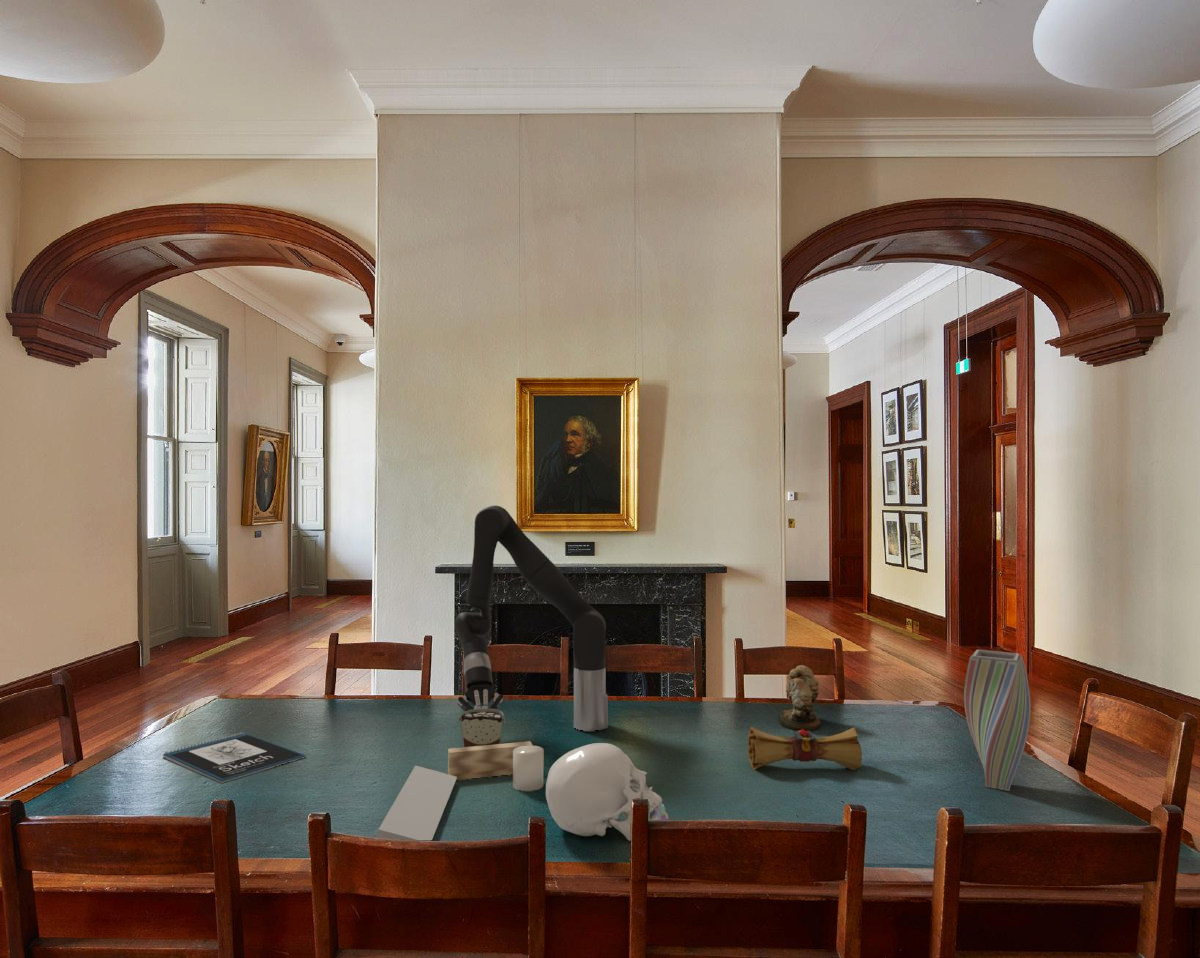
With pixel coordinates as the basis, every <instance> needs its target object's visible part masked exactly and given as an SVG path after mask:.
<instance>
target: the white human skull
mask: <svg viewBox="0 0 1200 958" xmlns="http://www.w3.org/2000/svg"><path fill="white" fill-rule="evenodd" d="M647 774H648V773H647V772H646V771H644V770H640V769H638V768H637V767H635V765H634V762H632V760H631V759H630V758H629V756H628V754H625V752H624V751H623V750H622V749H621V748H619V747H618V746H616V745H614V744H612V743H608V742H607V743H606V742H595V743H590V744H589V743H588V744H586V745H582V746H580V747H579V746H578V747H577V748H574V749H572V750H569V751H568V752H566V753H564V754H563V755H562V756H561V757H559V758H558V759H557V760H556V761H555V762H554V763H553V764H552V765H551V767H550V768H549V771H548V774H547V779H546V783H545V799H546V802H547V806H548V809H549V812H550V814H551V816H552V818H553V820H554V822H555V823H556V824H557V825H558V826H559V828H560V829H562V830H563V831H566V832H568V833H572V834H573V835H576V836H582V837H592V836H595V835H596V836H599V837H603V836H605V835H606V833H607V830H606V829H607V828H610V829H611V828H612V827H613V828H614V829H616V830H617V831H619V833H621V834H622V835H623V836H624V837H625V839H626V840H628V842H630V823H631V806H632V799H635V798H643V799H648V801H649V804H650V820H660V819H668V820H669V817H670V816H669V815H668V812H666V807H665V805H664V804H663V803H662V801H663V798H662V796H660V795H659V794H657V793H656V792H655V791H653V786H651V787H648V785H647V784H646V783H647V782H646V781H647V778H646V775H647ZM631 787H632V788H631ZM621 814H622V815H623V816H624V818H625V820H623V821H622V820H621V821H620V820H619V821H618V820H617V819H619V817H620V815H621Z"/></svg>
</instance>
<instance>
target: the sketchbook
mask: <svg viewBox="0 0 1200 958" xmlns="http://www.w3.org/2000/svg"><path fill="white" fill-rule="evenodd" d="M306 756H307V755H305V754H304V753H301V752H298V751H296V750H292V749H290V748H287V747H284V746H281V745H279V744H276V743H273V742H271V741H268V740H265V739H262V738H260V737H257V736H254V735H251V734H248V733H246V732H242V731H241V732H239V733H235V734H234V733H233V734H230V735H229V736H228V735H226V736H223V737H220V738H217V739H216V738H214V739H210V740H207V741H204V742H200V743H197V744H196V743H194V744H191V745H187V747H186V746H184V747H180V748H177V749H175V748H174V749H173V750H172V749H171V750H170V751H168V750H166V751H165V752H164V753H163V757H162V758H163V759H165V760H167V761H170V762H172V763H175V764H177V765H179V766H181V767H183V768H185V769H188V770H191V771H193V772H195V773H198V774H200V775H202V776H205V777H207V778H210V779H212V780H214V781H216V782H218V783H221V784H224V783H226V782H227V783H228V782H230V781H233V780H236V779H240V778H244V777H246V776H247V777H248V776H250V775H253V774H256V773H259V772H264V771H266V770H270V769H272V768H273V767H274V768H276V767H275V766H277V767H279V765H280V766H282V765H281V764H283V763H287V762H290V761H293V760H297V759H300V758H303V759H305V758H304V757H306ZM306 758H307V757H306ZM300 760H301V759H300ZM297 761H298V760H297ZM293 762H294V761H293ZM290 763H291V762H290ZM287 764H288V763H287Z"/></svg>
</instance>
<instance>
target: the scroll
mask: <svg viewBox="0 0 1200 958" xmlns="http://www.w3.org/2000/svg"><path fill="white" fill-rule="evenodd" d="M792 732H793V735H792V736H790V737H786V736H785V737H784V736H779V735H773V734H770V733H766V732H764V731H761V730H759V729H757V728H755V727H753V726H751V727H750V728H749V733H748V738H747V758H748V760H749V763H750V765H751V768H752V769H753V771H756V770H757V769H759V768H761V767H763V766H764V767H765V765H766V766H767V765H769V764H773V763H777V762H781V761H785V760H793V762H794V761H795V762H797V761H799V762H801V763H802V762H807V763H808V762H816V761H817V760H823V761H829V762H834V763H836V764H837V765H838V764H839V765H841V766H842V767H845V768H847V769H849V770H851V771H855V770H857V769H859V768H861V767H862V761H863V757H862V756H863V755H862V746H861V743H860V742H859V738H858V735H859V734H858V732H857V730H856V728H855V727H852V728H850V729H848V730H845V731H843V732H841V733H836V734H834V735H833V734H832V735H828V736H823V737H815V736H814V735H813V733H812V731H805V730H803V729H802V730H800V731H795V730H792Z"/></svg>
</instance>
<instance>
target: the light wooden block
mask: <svg viewBox="0 0 1200 958" xmlns="http://www.w3.org/2000/svg"><path fill="white" fill-rule="evenodd" d="M520 746H534V745H533V743H532V742H531V741H530V740H529V741H519V742H509V743H508V742H507V743H501V744H495V745H484V746H473V747H463V746H462V747H452V748H451V747H450V748H448V749H447V774H449V775H453V776H456V777H457V779H456V780H459V781H467V780H466V779H469V780H472V779H471V778H479V777H488V778H493V777H492V776H498V777H502V776H501V775H508V776H512V775H511V774H513V750H514V749H515V748H517V747H520ZM464 779H465V780H464ZM479 779H480V778H479Z"/></svg>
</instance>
